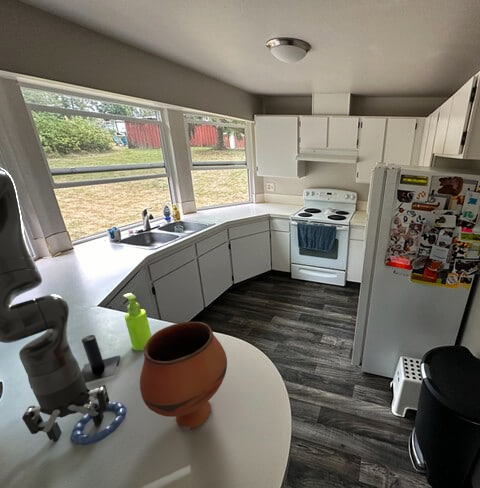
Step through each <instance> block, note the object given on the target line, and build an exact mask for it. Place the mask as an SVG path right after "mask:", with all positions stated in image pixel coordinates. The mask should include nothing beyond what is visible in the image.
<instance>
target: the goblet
mask: <svg viewBox="0 0 480 488" xmlns="http://www.w3.org/2000/svg"><path fill="white" fill-rule="evenodd" d="M143 356H144V361H143V364H142V367H141V372H140V375H139V376H140V377H139V391H140V395H141V398H142V401H143V403H144V404H145V405H146V407H147V408H148V409H149V410H150V411H151V412H153V413H155V414H157V415H159V416H162V417H171V418H173V417H175V422H176V424H177V425H179V426H180V427H183V428H189V427H190V430H193V429H195V428H197V427H199V426H202V425H203V423H205V421H206V420H207V419H208V417H209V416H210V415H211V410H212V406H211V402H210V400H211V399H213V396H215V394H216V393H217V392H218V390H219V388H221V386H222V384H223V381H224V379H225V376H226V374H227V369H228V357H227V353H226V350H225V349H224V346H223V345H222V344H221V342H220V341H219V339H218V338H217V337H216V336H215V334H214V332H213V329H212V328H211V327H210V326H209V324H208V323H205V322H201V321H183V322H178V323H174V324H170V325H168V326H165V327H163V328H161V329H159V330H157V331H156V332H155V333H153V334H151V338H150V339H149V340H148V341H147V343H146V344H145V346H144V349H143Z"/></svg>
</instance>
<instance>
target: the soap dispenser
mask: <svg viewBox="0 0 480 488" xmlns="http://www.w3.org/2000/svg"><path fill="white" fill-rule="evenodd" d="M122 297H123V298H125V299H127V300H128V305H126V306H127V307H126V310H127V313H126V314H125V315H124V320H125V324H126V329H127V331H128V335H129V339H130V343H131V346H132V349H133V350H134V351H144V346H145V344H146V343H147V341H148V340H149V339H150V338H151V337H152V332H151V328H150V325H149V320H148V315H147V311H146V309H143V308H141V306H140V303H139V302H136V300H137V296H136V295H135V294H133V293H130V292H128V293H125V294H123V295H122Z"/></svg>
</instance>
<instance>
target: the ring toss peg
mask: <svg viewBox="0 0 480 488" xmlns="http://www.w3.org/2000/svg"><path fill="white" fill-rule="evenodd" d="M81 343H82V346H83V349H84V352H85V355H86V357H87V361H88V363H84V365H83V368H82V369H81V372H82V375H83V378H84V380H85V383H86V384H87V383H90V382H94V381H98V380H100V379H104V378H108V377H111V376H114V375H115V371H116V368H117V367H118V366H119V363H120V361H121V355H115V356H110V357H108V358H103V356H102V352H101V349H100V347H99V344H98V341H97V337H96V335H94V334H89V335H86V336H84V337H83V338H82V339H81Z"/></svg>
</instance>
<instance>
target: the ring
mask: <svg viewBox="0 0 480 488" xmlns="http://www.w3.org/2000/svg"><path fill="white" fill-rule="evenodd" d="M107 411H113V412H115V414H116V415H115V418H114V419H113V421H112V422H111V423H110V424H109V425H108V426H106V427H105V428H104V429H101V430H100V431H98V432H95V433H93V434H85V433H84V429H85V426H86V425H87V424H88V422H90V421H91V419H92V415H89V414H83V416H82V417H81V418H80V419H79V420H78V421H77V422H76V423H75V424H74V426H73V429H72V432H71V434H70V439H71V440H72V443H73V444H74V445H76V446H77V445H78V446H88V445H91V444H93V443H96V442H99V441H101V440H103V439H105V438H106V437H108V436H109V435H110V434H112V433H113V432H115V431H116V430H117V429H118V427H119V426H120V425H121V424H122V423H123V422H124V420H125V419H126V415H127V407H126V406H125V405H124V404H123V403H122V402H116V401H111V402H110V401H109V403H108V407H107V409H106V410H105V411H102V412H103V413H104V412H107Z"/></svg>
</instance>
